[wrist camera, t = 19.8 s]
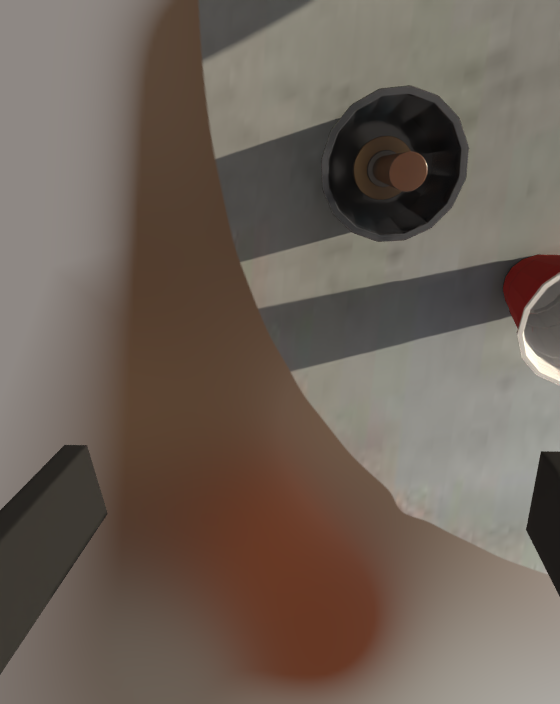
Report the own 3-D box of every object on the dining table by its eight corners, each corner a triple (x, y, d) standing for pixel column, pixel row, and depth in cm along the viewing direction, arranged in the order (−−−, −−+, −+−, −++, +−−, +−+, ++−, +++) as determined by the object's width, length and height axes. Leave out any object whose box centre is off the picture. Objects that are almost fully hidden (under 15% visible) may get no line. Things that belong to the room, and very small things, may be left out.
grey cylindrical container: (439, 100, 38) (474, 78, 28) (432, 219, 42) (461, 237, 32) (324, 112, 39) (318, 95, 29) (328, 226, 43) (324, 244, 33)
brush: (409, 135, 39) (461, 114, 22) (407, 194, 41) (453, 217, 24) (352, 140, 39) (360, 124, 23) (353, 198, 41) (361, 223, 25)
